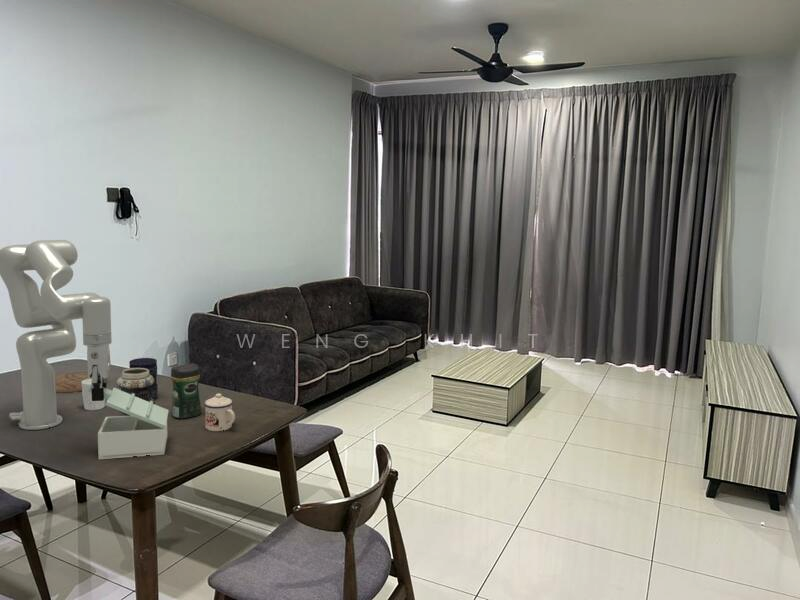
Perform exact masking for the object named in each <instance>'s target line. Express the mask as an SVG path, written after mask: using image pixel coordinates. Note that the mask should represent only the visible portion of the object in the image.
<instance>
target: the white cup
mask: <svg viewBox="0 0 800 600" xmlns="http://www.w3.org/2000/svg"><path fill="white" fill-rule="evenodd" d="M81 384H82V392H81V394H82V401H83V409H84V410H86V411H98V410H101V409H104V408H105V407H106V405H105V404H106V399H105V398H104V400H103V401H92V393H90V392H88V390H89V388H90V386H91V385H92V378H91V379H86V380H83V381H82V382H81Z"/></svg>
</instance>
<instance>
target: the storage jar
mask: <svg viewBox="0 0 800 600" xmlns="http://www.w3.org/2000/svg"><path fill="white" fill-rule="evenodd" d="M157 360H158V359H156V358H154V357H141V358H140V357H138V358H133V359H131V360H129V361H128V364H129V368H128V369H130V368H146V369H148V370H149V373H150V375H151V376H152V377H153V378H154V384H153V385H152V386H151V398H152V399H153V400H154V401H155V402H156V401H157V400H158V392H159V391H158V387H159V385H158V383H157V378H158V377H157V376H158V364H157V362H158V361H157Z"/></svg>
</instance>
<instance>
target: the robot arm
mask: <svg viewBox="0 0 800 600" xmlns="http://www.w3.org/2000/svg"><path fill="white" fill-rule="evenodd" d="M77 260H78V250H77V248H76V246H75V245H74V243H72V242H71V241H69V240H66V239H45V240H44V239H43V240H42V239H40V240H35V241H33V242H31V243H29V244H13V245H7V246H4V247H1V249H0V278H1V279H2V281H3V283H4V285H5V286H6V289H7V291H8V296H9V300H10V304H11V308H12V312H13V317H14V321H15V322H16V325H17V326H18V327H20V328H23V329H31V328H37V327H39V328H40V327H45V326H51V327H52V328H48V329H39V330H33V331H28V332H25V333H23V334H21V335H19V337H17V338H16V343H15V347H16V353H17V356H18V359H19V364H20V373H21V374H20V375H21V388H22V390H21V391H22V392H21V393H22V407H23V410H22V411H19V412H9V415H8V417H9V419H11V421H17V420H18V421H19V422H18V427H19V428H21V429H23V430H26V431H27V430H29V431H31V430H32V431H34V430H37V431H38V430H45V429H49V427H50V428H52V427H55V426H59V425H60V424H61V423H62V422H63V416H62V415H60V414H58V413H57V412H58V409H57V394H56V385H55V375H56V372H55V370H54V367H53V366H52V365H51V364H50V363H49V362H48V361H47V360H48V359H51V358H56V357H62V356H66V355H70V354H72V353H73V352H74V351H75V350H76V348H77V347H76V346H77V337H76V333H75V329H74V326H73V320H80V319H81V321H82V343H83V344H82V345H83V346H86V347H87V348H86V349H87V350H86V354H87V355H86V356H87V365H86V366H87V372H88V377H89V378H90V379H91V378H92V388H91V393H92V401H103V400H104V388H107V383H106V377H107V378H108V377H109V375H110V372H111V370H112V365H111V364H112V363H111V354H110V352H111V351H110V345H111V344H112V341H113V340H112V315H111V314H112V313H111V311H112V310H111V307H112V306H111V305H112V304H111V300H110V299H109V298H108V297H106V296H100V295H99V294H97V293H96V292H95V293H94V292H84V293H83V292H82V293H73V294H62V295H60V294H59V293H58V292H57V291H58V290H59V289H61V288H63V287H65V286H67V284H69V283H70V282H71V281H72V279H73V276H74V271H73V268H72V267H71V266H73V265H75V264H76V262H77ZM25 271H35V272H36V274H38V276H39V277H40V278H41V280H42V284H41V286H40V291H39V285H38V283H37V282H36V281H35V280H34V279H33V277H32V276H30V275H29V274H28V273H26V272H25Z"/></svg>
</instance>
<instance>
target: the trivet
mask: <svg viewBox="0 0 800 600" xmlns="http://www.w3.org/2000/svg"><path fill="white" fill-rule="evenodd" d="M86 379H90V378H89V377H88V371H77V372H76V371H75V372H65V373H59V374H55V385H56V393H69V394H74V393H73V392H79V393H82V384H81V382H82V381H83V380H86ZM106 384H108V376H107V377H106Z"/></svg>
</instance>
